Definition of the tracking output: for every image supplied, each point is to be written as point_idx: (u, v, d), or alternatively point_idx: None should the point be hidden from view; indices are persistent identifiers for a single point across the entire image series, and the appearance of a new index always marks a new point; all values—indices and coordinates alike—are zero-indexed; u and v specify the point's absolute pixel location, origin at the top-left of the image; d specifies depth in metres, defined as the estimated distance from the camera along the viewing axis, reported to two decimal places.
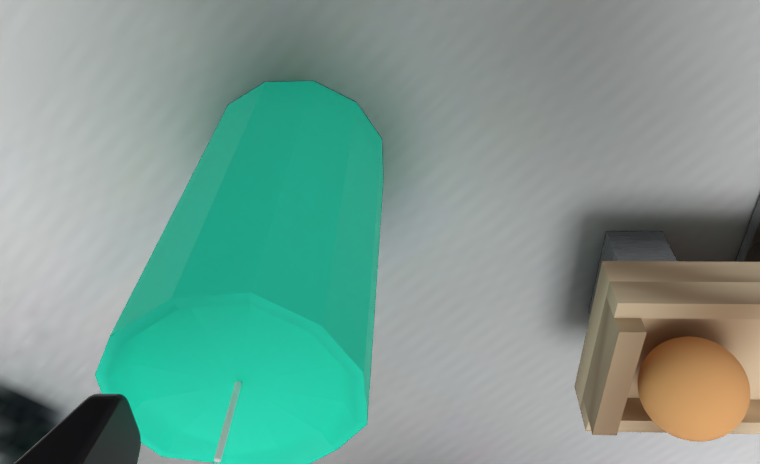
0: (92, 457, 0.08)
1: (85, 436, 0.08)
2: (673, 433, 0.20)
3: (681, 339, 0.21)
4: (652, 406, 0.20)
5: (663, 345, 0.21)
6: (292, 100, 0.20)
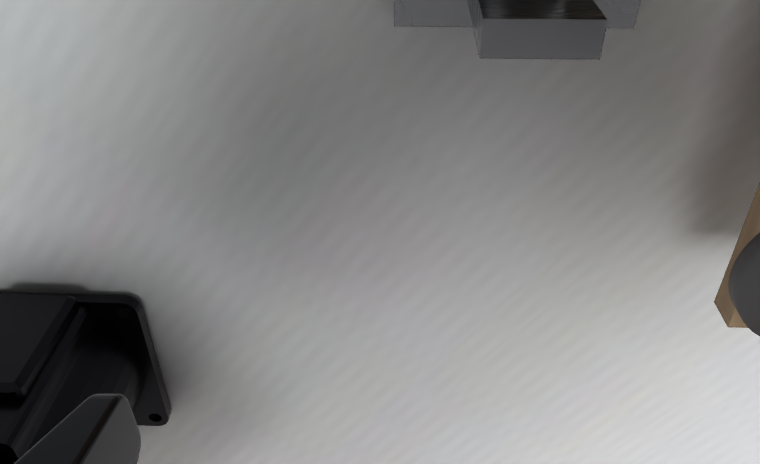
0: (92, 457, 0.08)
1: (85, 436, 0.08)
2: None
3: None
4: None
5: None
6: None
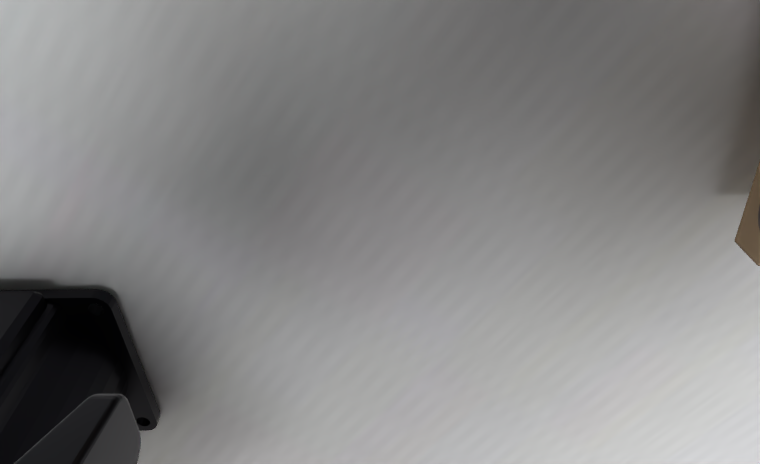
0: (93, 457, 0.08)
1: (85, 436, 0.08)
2: None
3: None
4: None
5: None
6: None
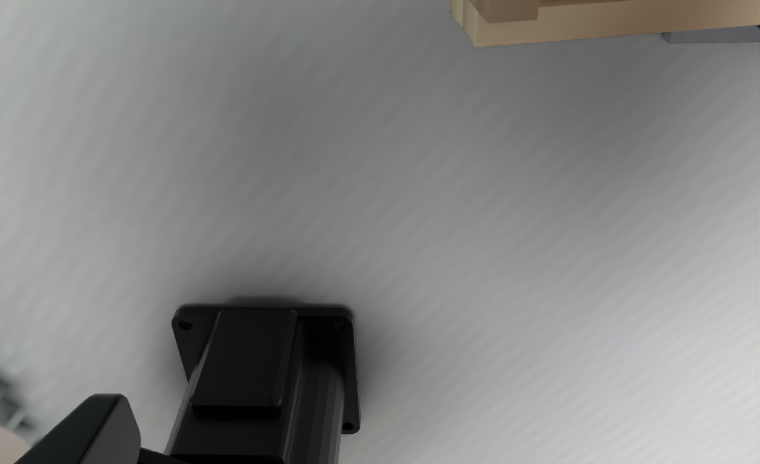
0: (92, 457, 0.08)
1: (85, 436, 0.08)
2: None
3: None
4: None
5: None
6: None
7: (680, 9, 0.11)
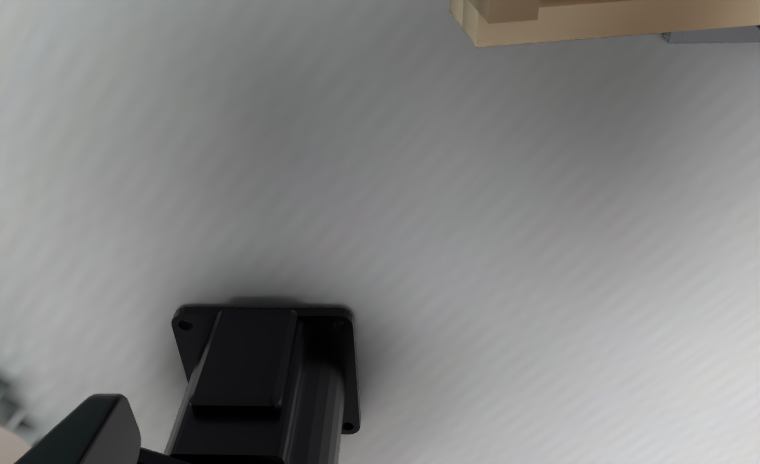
0: (92, 457, 0.08)
1: (85, 436, 0.08)
2: None
3: None
4: None
5: None
6: None
7: (680, 9, 0.11)
